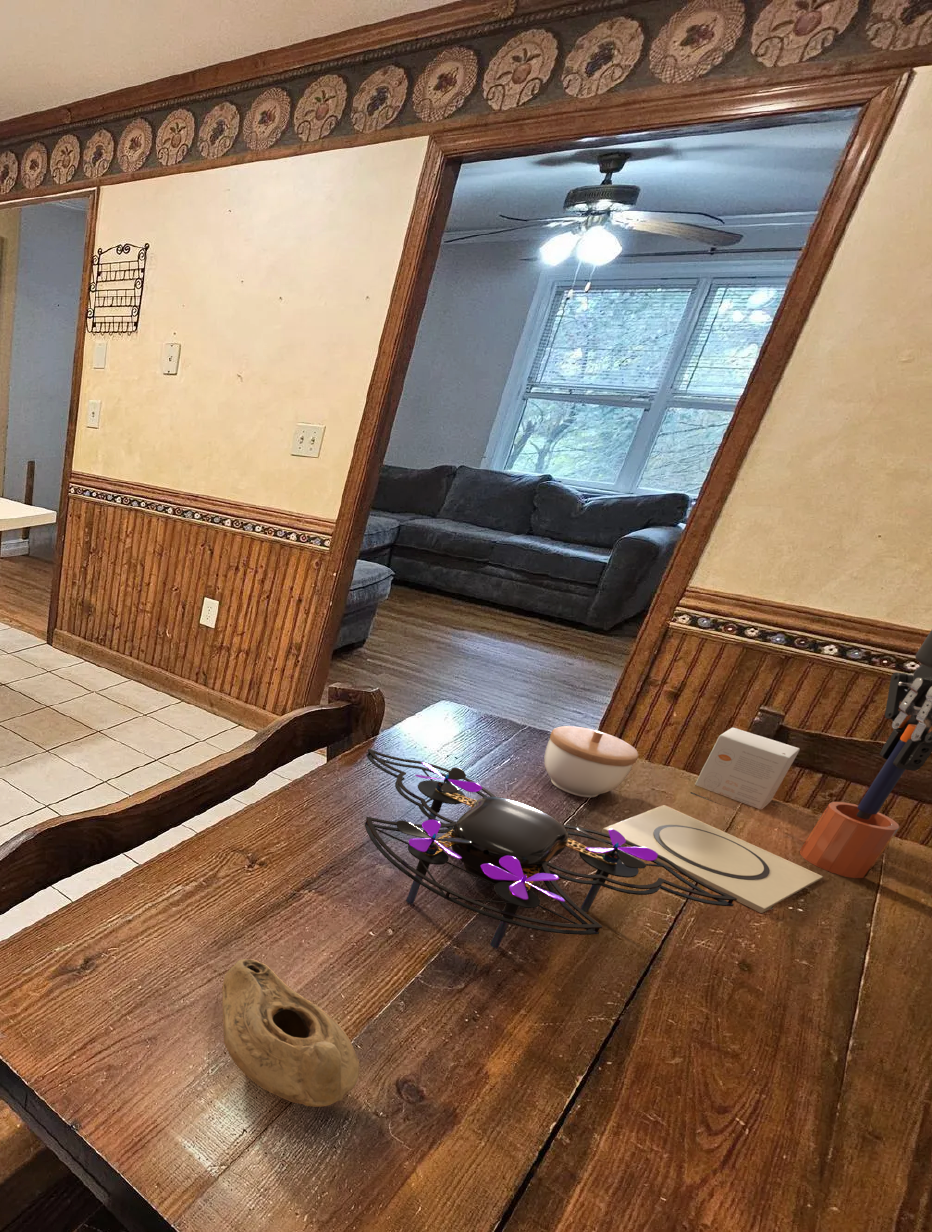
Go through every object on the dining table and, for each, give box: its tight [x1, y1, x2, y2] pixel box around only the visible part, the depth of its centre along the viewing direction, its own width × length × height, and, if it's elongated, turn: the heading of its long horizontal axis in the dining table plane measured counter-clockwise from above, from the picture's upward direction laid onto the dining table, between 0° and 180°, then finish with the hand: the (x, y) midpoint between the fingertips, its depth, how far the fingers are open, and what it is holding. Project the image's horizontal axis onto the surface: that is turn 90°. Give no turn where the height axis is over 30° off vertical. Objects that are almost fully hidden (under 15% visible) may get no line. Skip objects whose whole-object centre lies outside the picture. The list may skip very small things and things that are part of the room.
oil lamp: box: [221, 958, 360, 1108], centre depth 69 cm, size 11×15×8 cm
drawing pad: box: [601, 804, 824, 914], centre depth 104 cm, size 16×18×1 cm
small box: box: [689, 727, 800, 810], centre depth 115 cm, size 8×6×10 cm
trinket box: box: [543, 725, 640, 798], centre depth 117 cm, size 11×11×9 cm
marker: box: [857, 724, 932, 820], centre depth 98 cm, size 2×2×13 cm
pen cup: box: [799, 801, 900, 879], centre depth 102 cm, size 6×6×8 cm
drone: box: [364, 748, 737, 949], centre depth 91 cm, size 40×10×28 cm
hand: (897, 762), depth 97 cm, fingers closed on marker, 2 cm apart
